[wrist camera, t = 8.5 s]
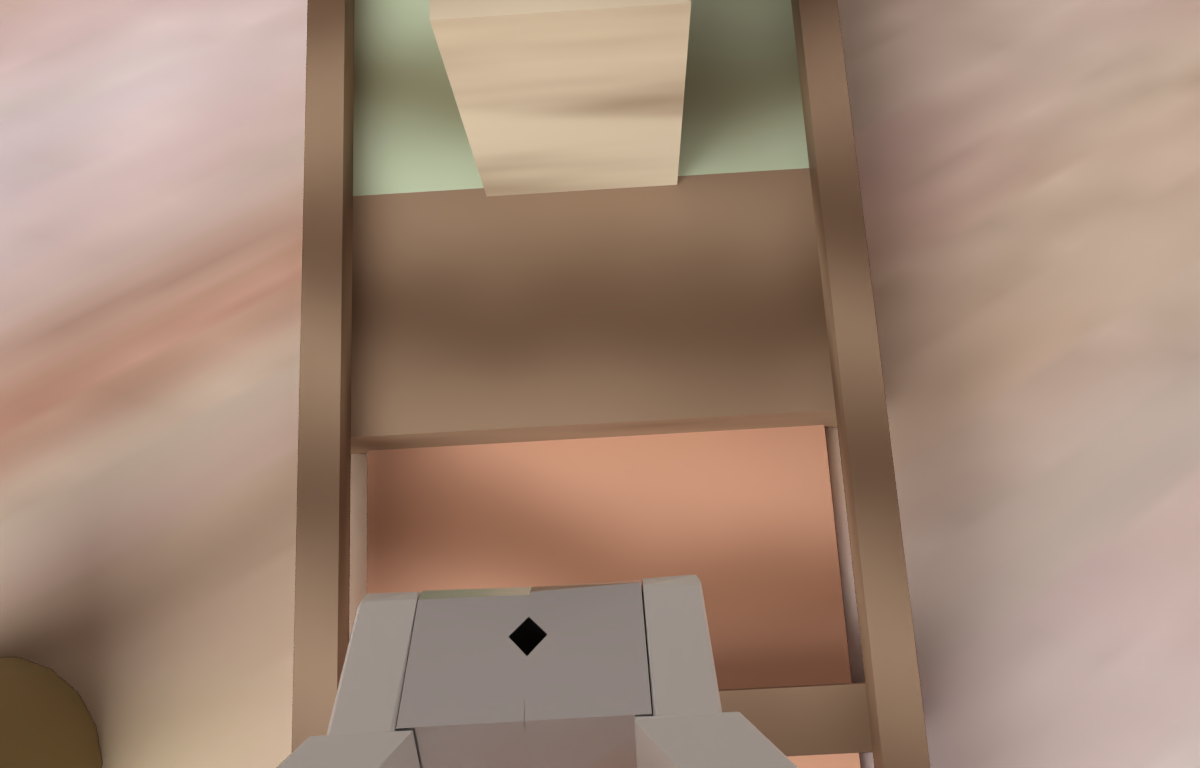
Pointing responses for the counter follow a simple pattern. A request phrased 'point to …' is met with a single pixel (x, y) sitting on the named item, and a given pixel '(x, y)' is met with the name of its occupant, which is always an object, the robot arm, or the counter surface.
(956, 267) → the counter surface
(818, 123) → the trap box
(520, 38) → the birch block
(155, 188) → the counter surface
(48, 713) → the cork
